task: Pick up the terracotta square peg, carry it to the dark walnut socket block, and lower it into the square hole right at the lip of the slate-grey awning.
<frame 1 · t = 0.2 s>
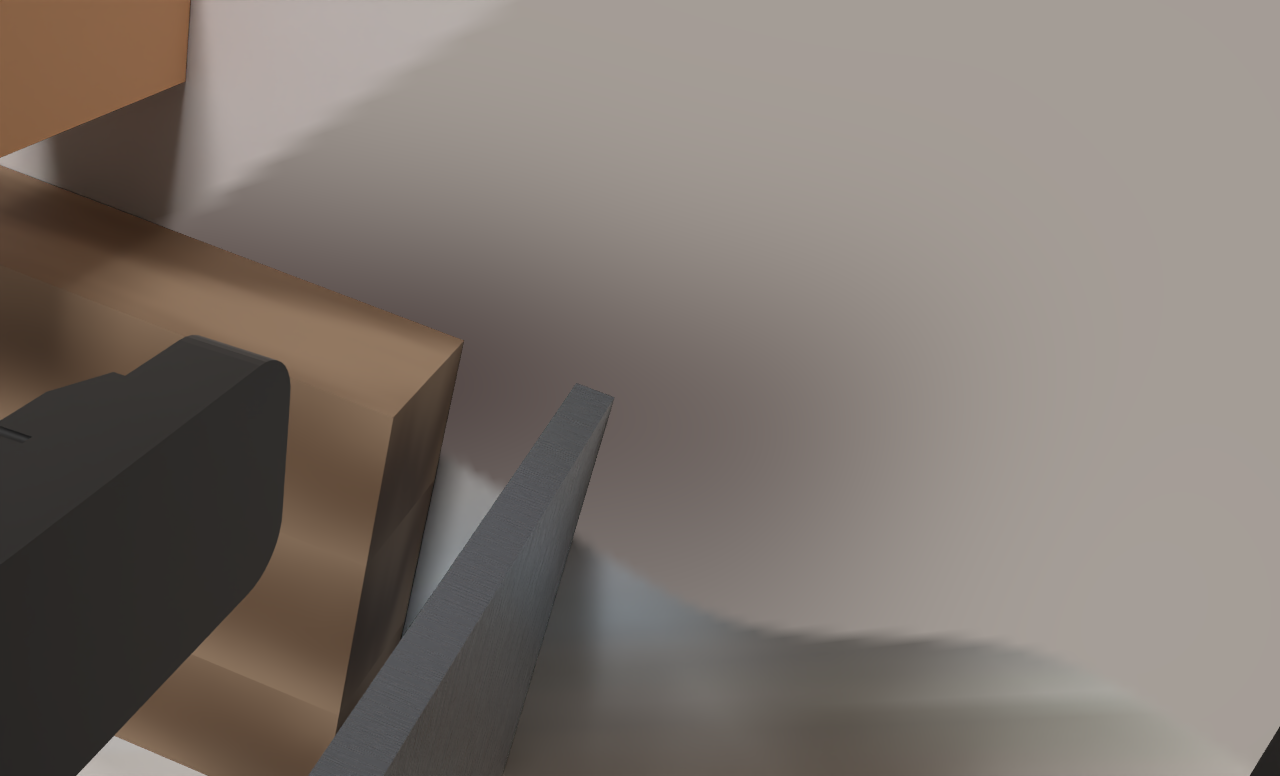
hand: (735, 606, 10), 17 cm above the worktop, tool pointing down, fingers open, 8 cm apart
socket block: (161, 450, 34), on the worktop
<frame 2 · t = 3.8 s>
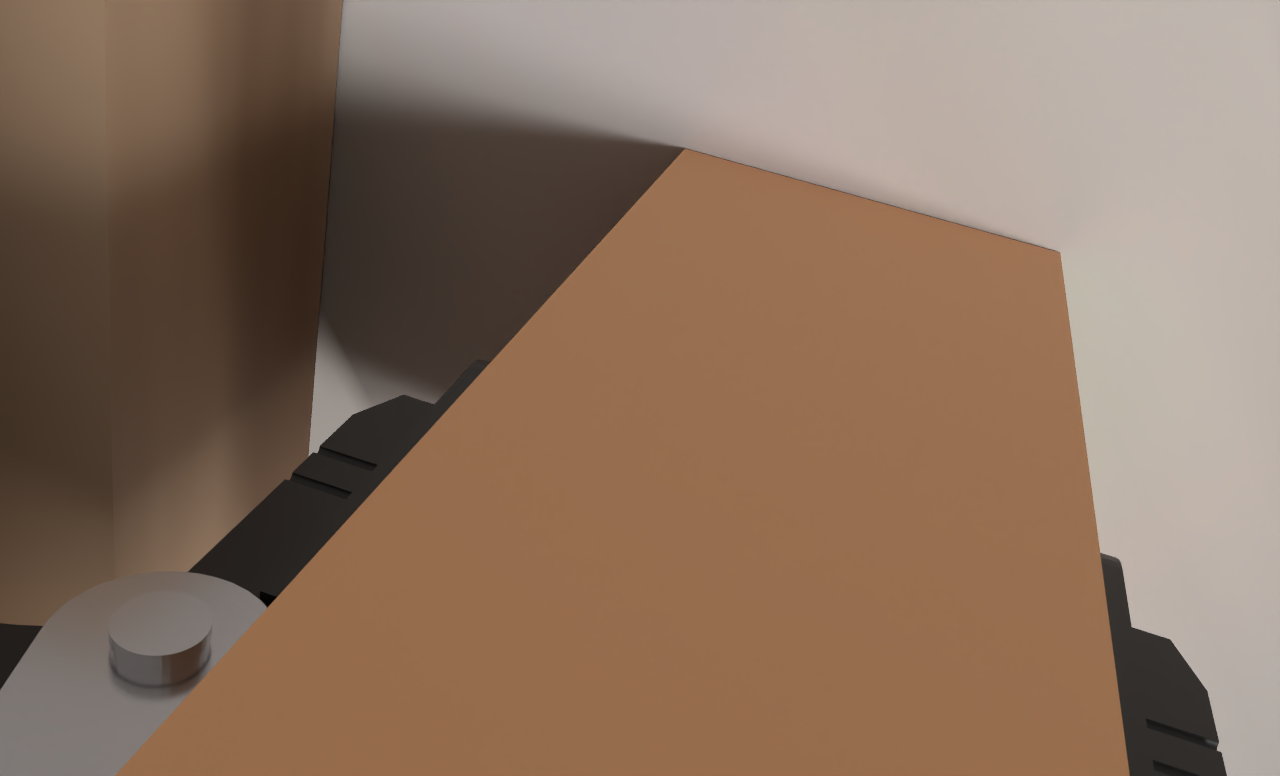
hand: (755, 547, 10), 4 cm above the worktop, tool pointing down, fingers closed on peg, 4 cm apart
peg: (817, 366, 14), on the worktop, touching gripper
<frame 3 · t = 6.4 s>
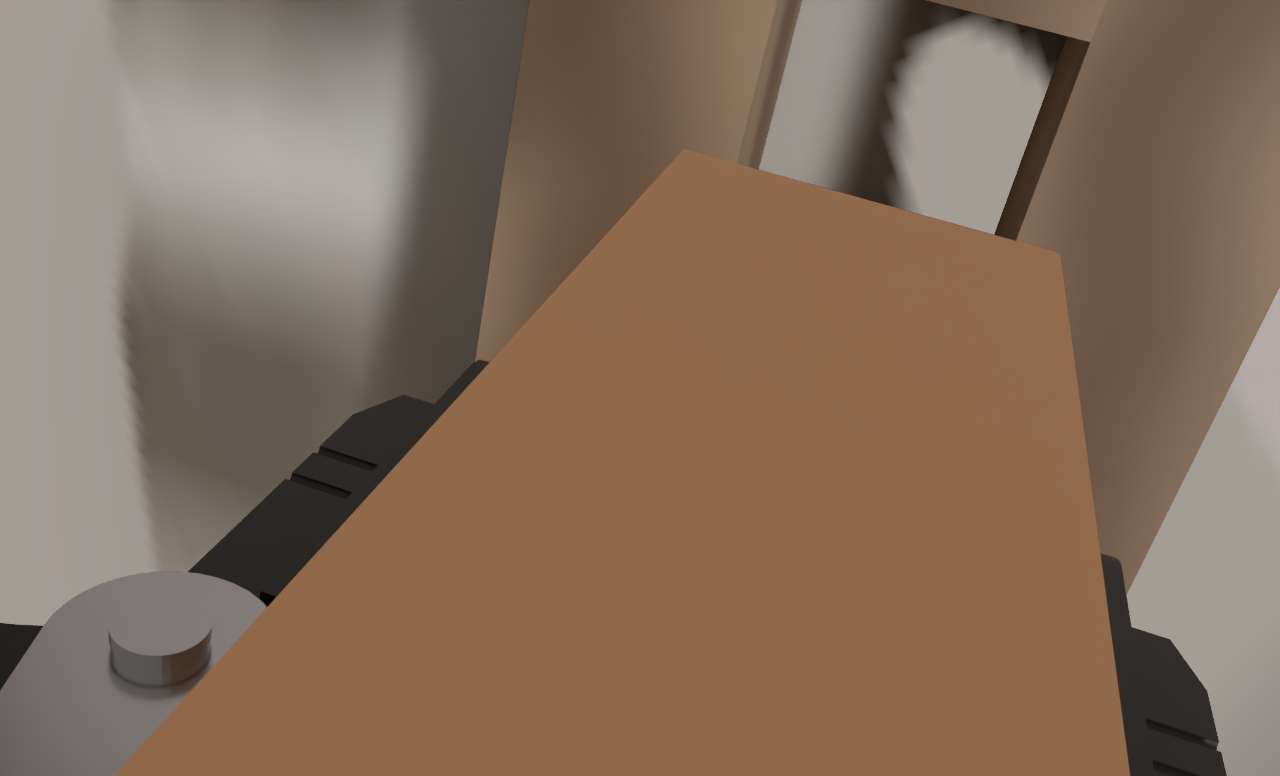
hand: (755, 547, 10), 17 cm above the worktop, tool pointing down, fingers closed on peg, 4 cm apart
peg: (816, 367, 13), point 13 cm above the worktop, touching gripper
socket block: (864, 235, 26), on the worktop
when the fingers open (6 cm above the worktop, at t = 9.1 s): peg drops 2 cm, resting in socket block.
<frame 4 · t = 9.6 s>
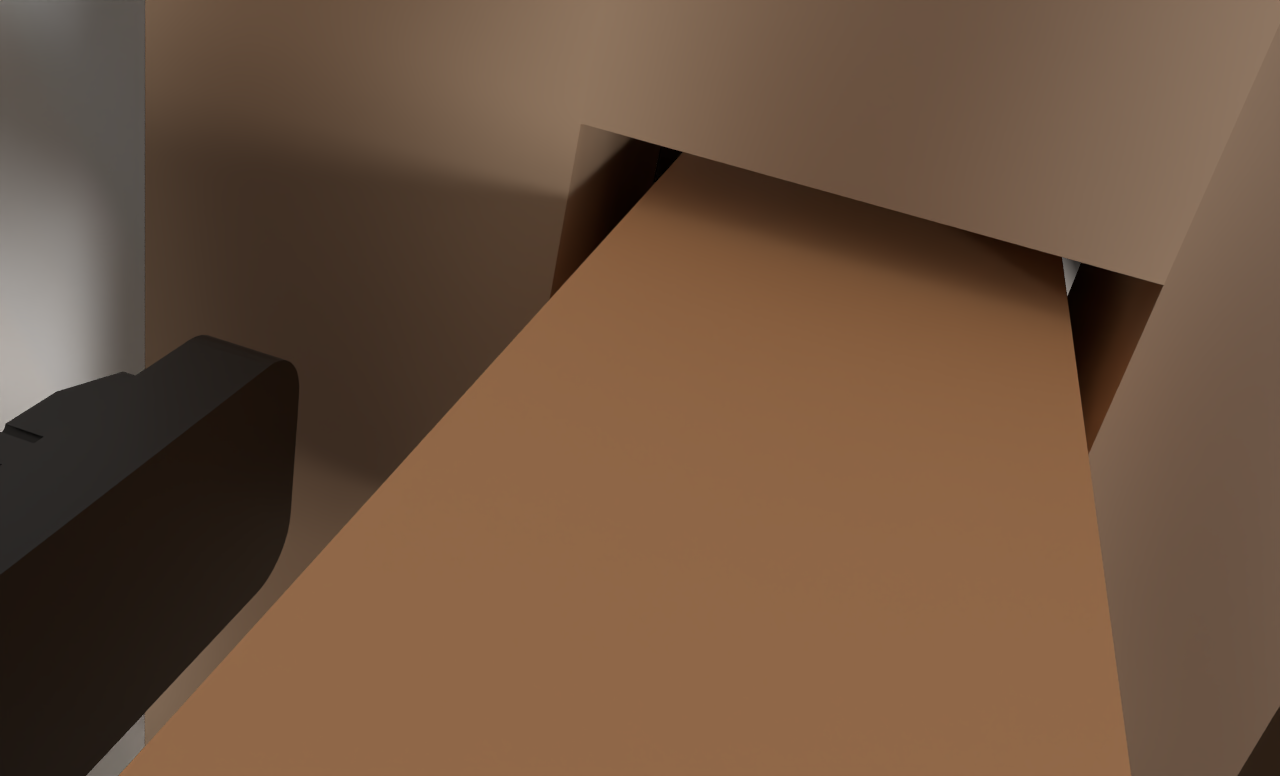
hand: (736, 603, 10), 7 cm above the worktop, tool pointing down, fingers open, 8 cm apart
peg: (840, 303, 15), resting in socket block
socket block: (776, 497, 17), on the worktop
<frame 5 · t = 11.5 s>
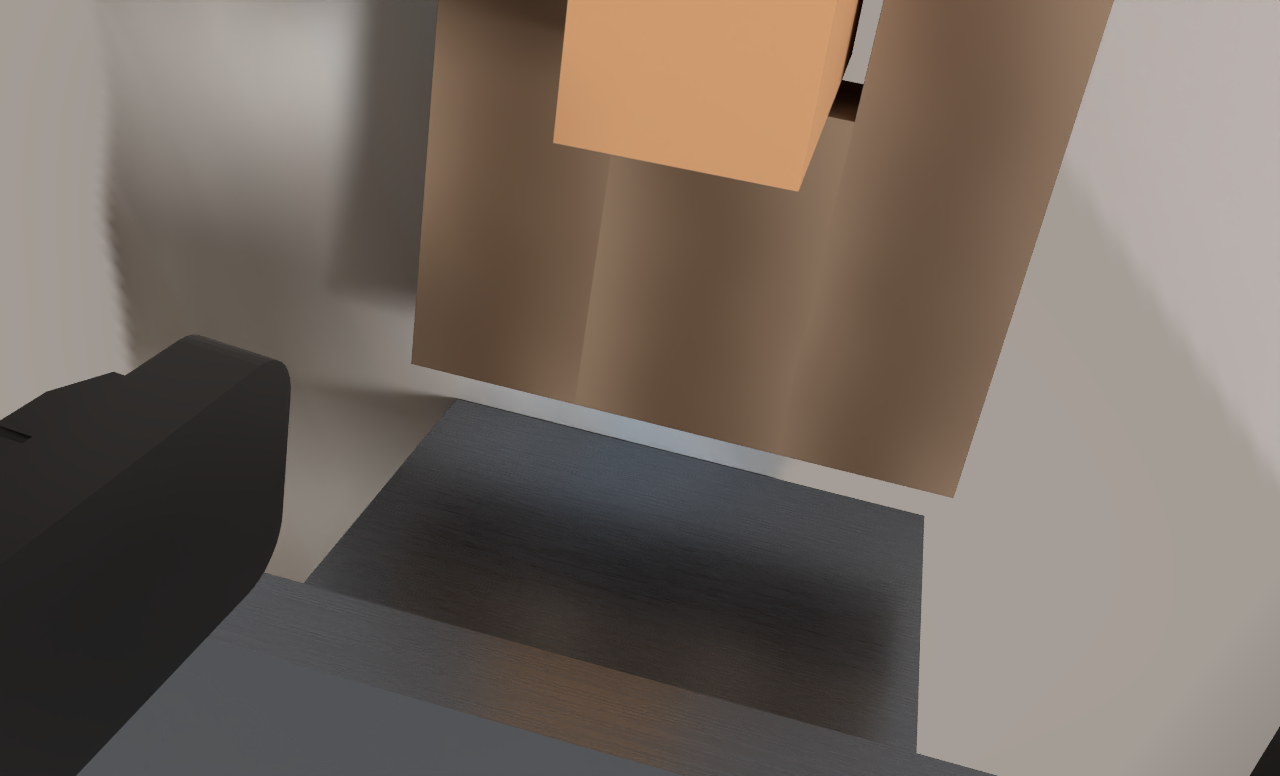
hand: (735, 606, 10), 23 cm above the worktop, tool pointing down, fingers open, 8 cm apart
awning: (619, 552, 25), on the worktop
socket block: (758, 79, 30), on the worktop
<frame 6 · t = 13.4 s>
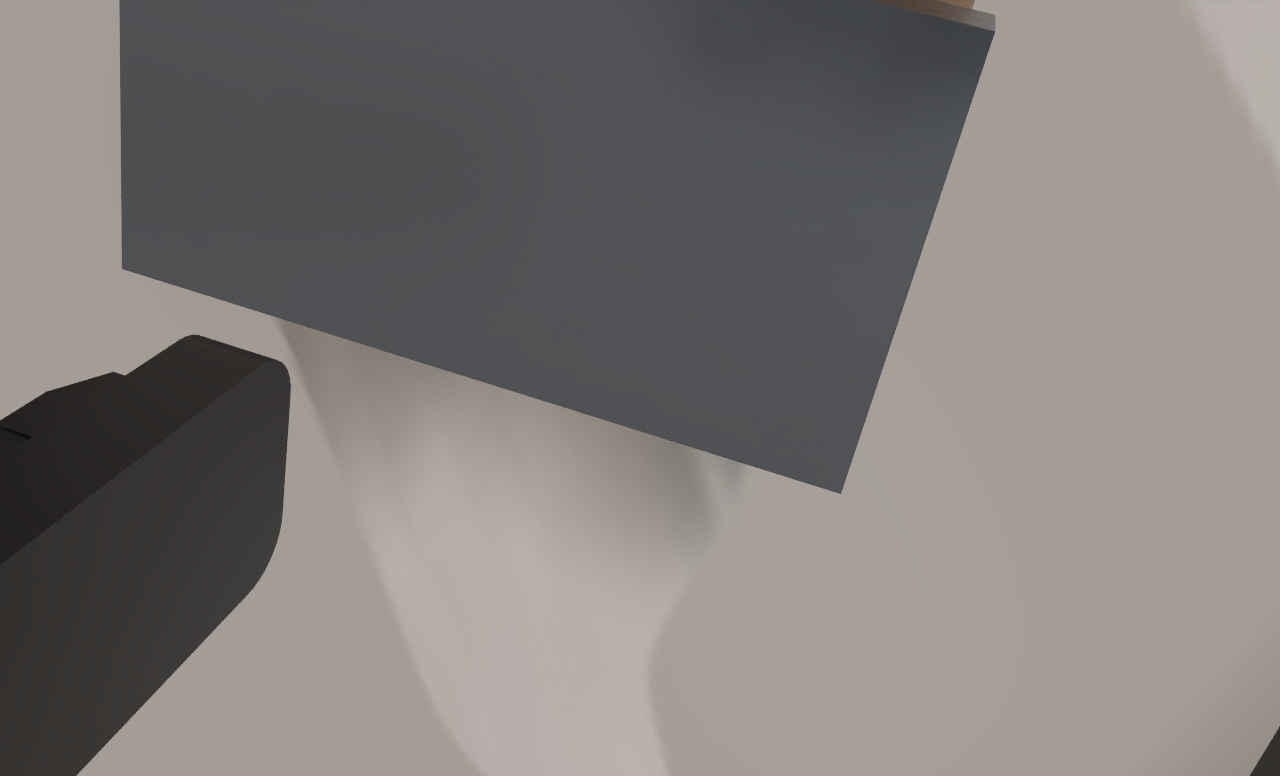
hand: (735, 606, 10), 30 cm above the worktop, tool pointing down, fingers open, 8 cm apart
awning: (645, 57, 29), on the worktop
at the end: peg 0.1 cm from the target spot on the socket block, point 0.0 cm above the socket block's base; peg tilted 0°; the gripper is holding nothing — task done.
